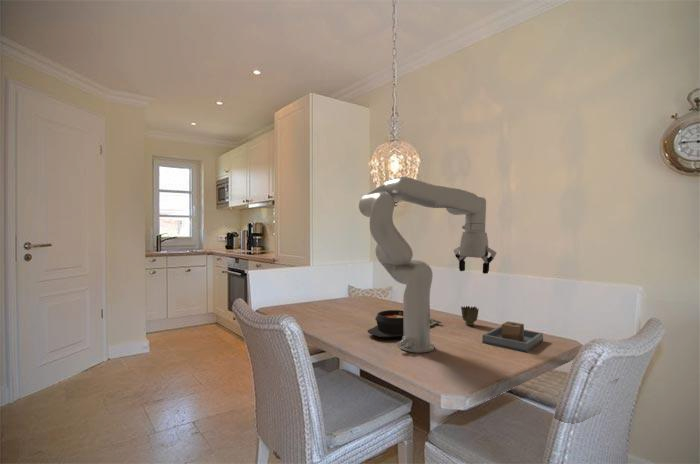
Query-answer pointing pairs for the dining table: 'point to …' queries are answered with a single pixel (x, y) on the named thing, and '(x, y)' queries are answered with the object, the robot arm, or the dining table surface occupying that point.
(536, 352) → the dining table surface
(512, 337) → the walnut block
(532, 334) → the tray
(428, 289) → the robot arm
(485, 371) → the dining table surface
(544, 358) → the dining table surface
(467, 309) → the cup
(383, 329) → the casserole
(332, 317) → the dining table surface
